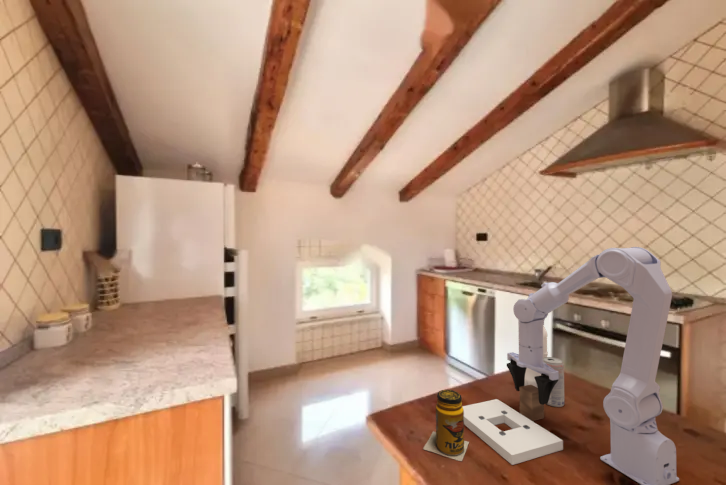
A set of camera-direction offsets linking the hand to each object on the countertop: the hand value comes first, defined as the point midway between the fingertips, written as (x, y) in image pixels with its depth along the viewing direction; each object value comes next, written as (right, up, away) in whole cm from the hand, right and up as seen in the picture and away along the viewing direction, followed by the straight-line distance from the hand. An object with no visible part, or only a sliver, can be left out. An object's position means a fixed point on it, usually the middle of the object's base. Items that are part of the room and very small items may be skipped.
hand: (531, 396), depth 85 cm
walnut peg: (0, -5, 0) cm, 5 cm away
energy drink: (+9, -5, +6) cm, 12 cm away
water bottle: (+9, -5, +16) cm, 19 cm away
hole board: (-10, -5, -7) cm, 13 cm away
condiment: (-25, -6, -12) cm, 29 cm away
